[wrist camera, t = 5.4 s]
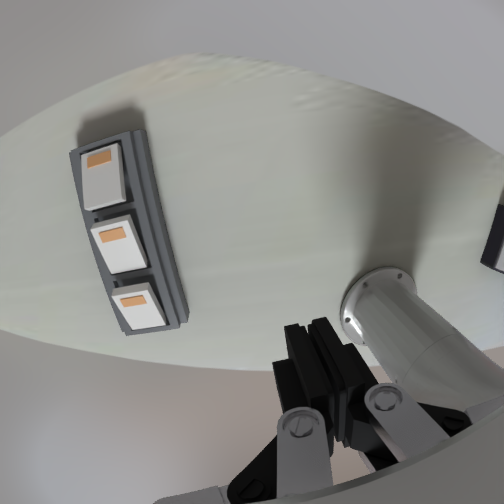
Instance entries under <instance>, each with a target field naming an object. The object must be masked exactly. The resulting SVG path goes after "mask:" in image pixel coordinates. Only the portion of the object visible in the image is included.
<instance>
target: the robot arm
mask: <svg viewBox="0 0 504 504" xmlns="http://www.w3.org/2000/svg"><path fill="white" fill-rule="evenodd" d="M340 319H341V325H342V328H343V330H344V332H345V334H346V335H347V337H348V338H349V339H350V340H351V341H353V342H354V343H356V344H359V345H362V346H368V348H369V349H370V351H371V352H372V353H373V355H374V356H375V358H376V359H377V361H378V362H379V364H380V365H381V366H382V368H383V369H384V371H385V372H386V374H387V375H388V376H389V378H390V380H391V381H392V382H393V383H381V384H379V383H378V382H377V380H376V379H375V377H374V375H373V374H372V372H371V371H370V369H369V367H368V366H367V364H366V363H365V361H364V360H363V358H362V356H361V355H360V353H359V352H358V350H357V349H356V347H355V346H354V344H353V343H349V344H346V345H343V344H342V342H341V341H340V339H339V337H338V336H337V334H336V332H335V331H334V329H333V327H332V326H331V324H330V322H329V321H328V319H327V318H326V317H323V318H318V319H314V320H312V324H309V325H308V333H307V331H306V328H305V326H299V324H298V323H297V324H293V325H288V326H284V330H285V337H286V344H287V351H288V358H289V359H285V360H281V361H276V362H272V364H273V370H274V375H275V380H276V384H277V390H278V393H279V398H280V402H281V407H282V411H283V415H282V416H281V418H280V419H279V420H278V425H277V435H276V437H275V438H274V439H273V440H272V441H271V442H270V443H269V444H268V445H267V446H266V447H265V448H264V450H262V452H260V453H259V455H257V457H256V458H255V459H254V460H253V461H252V462H251V463H250V464H249V465H248V466H247V467H246V468H245V469H244V470H243V471H242V472H240V473H239V474H238V475H237V476H236V477H235V478H234V479H233V480H232V482H231V483H230V484H229V485H226V486H222V487H218V486H214V487H210V488H206V489H202V490H198V491H194V492H190V493H185V494H181V495H176V496H171V497H166V498H162V499H159V500H157V501H156V502H155V503H153V504H504V369H503V368H502V367H500V366H499V365H497V364H496V363H495V362H493V361H492V360H491V359H490V358H489V357H487V356H486V355H485V354H484V353H483V352H482V351H480V350H479V349H478V348H477V347H476V346H475V345H474V344H472V343H471V342H470V341H469V340H468V339H467V338H466V337H465V336H463V335H462V334H461V333H460V332H459V331H458V330H457V329H456V328H454V327H453V326H452V325H451V324H450V323H449V322H448V321H446V320H445V319H444V318H443V317H442V316H441V315H440V314H438V313H437V312H436V311H435V310H434V309H432V308H431V307H430V306H429V305H428V304H427V303H425V302H424V301H423V300H422V299H421V298H419V297H418V296H417V289H416V285H415V283H414V281H413V279H412V278H411V276H409V275H408V274H407V273H406V272H404V271H403V270H401V269H399V268H395V267H382V268H378V269H375V270H373V271H371V272H369V273H367V274H365V275H364V276H363V277H362V278H360V279H359V280H358V281H357V282H356V283H355V284H354V285H353V286H352V288H351V289H350V290H349V292H348V293H347V295H346V297H345V299H344V301H343V304H342V308H341V314H340ZM334 436H335V438H336V441H337V442H339V441H342V443H343V445H344V448H346V447H349V446H350V448H352V449H355V450H358V453H359V456H360V458H361V459H362V460H363V462H364V463H365V465H366V466H367V468H368V469H369V471H370V472H371V474H368V475H365V476H363V477H360V478H357V479H354V480H351V481H347V482H344V483H341V484H337V485H334V486H333V480H332V471H331V464H330V457H331V456H332V454H333V447H334Z"/></svg>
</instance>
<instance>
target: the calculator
mask: <svg viewBox="0 0 504 504" xmlns="http://www.w3.org/2000/svg"><path fill="white" fill-rule="evenodd" d="M480 262H481V263H482V264H484V265H485V266H487V267H489V268H491V269H493V270H495V271H498V272H500V273H503V274H504V206H503V205H500V204H499V205H498V207H497V210H496V214H495V217H494V221H493V224H492V228H491V231H490V234H489V237H488V240H487V243H486V246H485V249H484V252H483V255H482V258H481V261H480Z"/></svg>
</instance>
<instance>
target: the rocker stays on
mask: <svg viewBox="0 0 504 504" xmlns="http://www.w3.org/2000/svg"><path fill="white" fill-rule="evenodd" d="M81 165H82V185H83V200H84V209H85V210H88V211H91V210H94V209H98V208H102V207H105V206H109V205H112V204H116V203H120V202H124V201H126V194H125V185H124V174H123V163H122V149H121V146H120V145H119V144H118V143H116V144H113V145H110V146H107V147H104V148H101V149H98V150H95V151H92V152H89V153H86V154H83V155H81Z"/></svg>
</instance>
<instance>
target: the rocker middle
mask: <svg viewBox="0 0 504 504" xmlns="http://www.w3.org/2000/svg"><path fill="white" fill-rule="evenodd" d="M90 230H91V232H92V235H93V237H94V239H95V241H96V243H97V246H98V248H99V250H100V252H101V254H102V256H103V258H104V260H105V262H106V264H107V266H108V268H109V270H110V272H111V274H115V273H120V272H125V271H130V270H135V269H140V268H145V267H147V263H148V259H147V257H146V254H145V252H144V250H143V247H142V244H141V242H140V239H139V237H138V234H137V232H136V229H135V226H134V224H133V221H132V218H131V216H130V214H129V215H125V216H121V217H117V218H113V219H109V220H105V221H102V222H98V223H94V224H93V226H92V227H91V229H90Z"/></svg>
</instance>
